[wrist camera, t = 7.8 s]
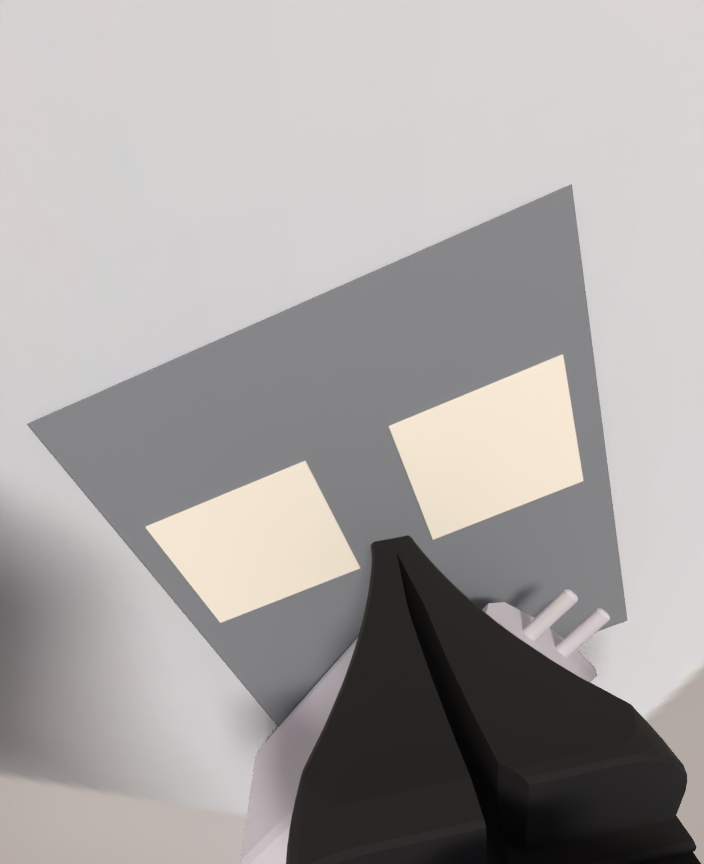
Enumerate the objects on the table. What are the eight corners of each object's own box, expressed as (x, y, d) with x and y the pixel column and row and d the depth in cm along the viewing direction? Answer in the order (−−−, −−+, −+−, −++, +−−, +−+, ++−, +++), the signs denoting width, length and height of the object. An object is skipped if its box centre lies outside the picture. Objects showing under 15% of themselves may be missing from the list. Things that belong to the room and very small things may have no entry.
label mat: (29, 423, 10) (25, 424, 10) (569, 185, 9) (573, 183, 9) (292, 740, 16) (291, 744, 16) (625, 618, 15) (628, 621, 15)
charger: (612, 595, 15) (408, 779, 18) (460, 501, 12) (258, 734, 16) (740, 719, 10) (436, 931, 14) (540, 609, 8) (233, 901, 11)
